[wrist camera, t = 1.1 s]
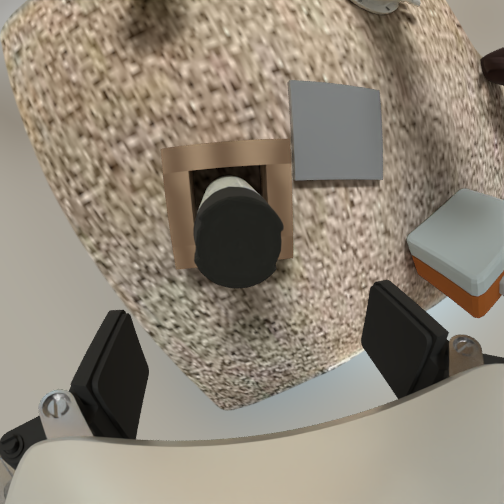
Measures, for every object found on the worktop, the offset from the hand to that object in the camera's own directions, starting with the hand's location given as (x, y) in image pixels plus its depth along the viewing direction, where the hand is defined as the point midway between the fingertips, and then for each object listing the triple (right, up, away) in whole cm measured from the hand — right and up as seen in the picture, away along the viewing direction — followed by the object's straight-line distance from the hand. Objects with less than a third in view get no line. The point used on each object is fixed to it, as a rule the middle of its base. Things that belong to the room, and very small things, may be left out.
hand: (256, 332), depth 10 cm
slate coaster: (+12, +20, +25) cm, 34 cm away
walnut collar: (-3, +10, +27) cm, 29 cm away
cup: (+51, +44, +22) cm, 71 cm away
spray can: (-3, +10, +27) cm, 29 cm away
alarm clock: (+36, +7, +33) cm, 49 cm away
